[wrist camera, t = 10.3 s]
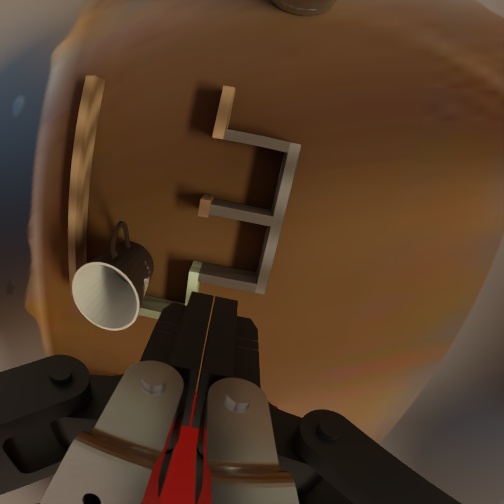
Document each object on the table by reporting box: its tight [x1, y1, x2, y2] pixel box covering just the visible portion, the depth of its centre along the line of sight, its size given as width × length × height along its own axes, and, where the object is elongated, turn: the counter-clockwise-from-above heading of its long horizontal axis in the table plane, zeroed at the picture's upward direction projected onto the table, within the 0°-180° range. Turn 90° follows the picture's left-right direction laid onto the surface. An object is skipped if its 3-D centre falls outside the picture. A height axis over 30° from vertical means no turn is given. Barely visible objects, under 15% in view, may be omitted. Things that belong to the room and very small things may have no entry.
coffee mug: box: [72, 221, 154, 331], centre depth 35 cm, size 12×9×10 cm
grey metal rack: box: [68, 76, 301, 319], centre depth 36 cm, size 30×27×4 cm
